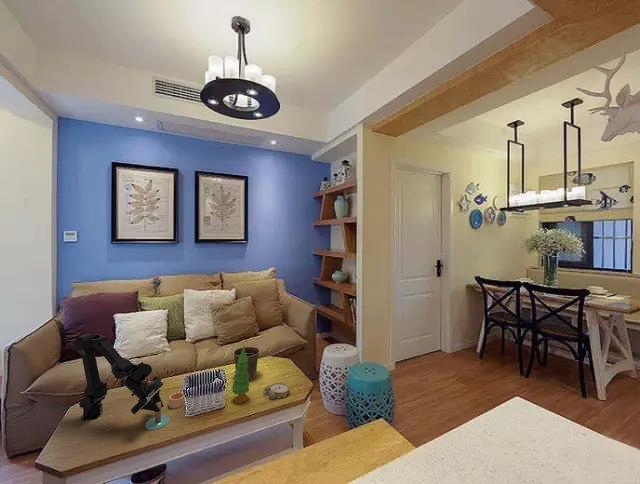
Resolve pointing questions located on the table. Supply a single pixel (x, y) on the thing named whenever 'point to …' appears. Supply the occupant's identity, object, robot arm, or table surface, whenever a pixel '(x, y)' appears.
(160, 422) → the teal stand with rod
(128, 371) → the robot arm
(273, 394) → the candle holder
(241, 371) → the decorative tree
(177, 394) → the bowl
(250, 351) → the plant pot
